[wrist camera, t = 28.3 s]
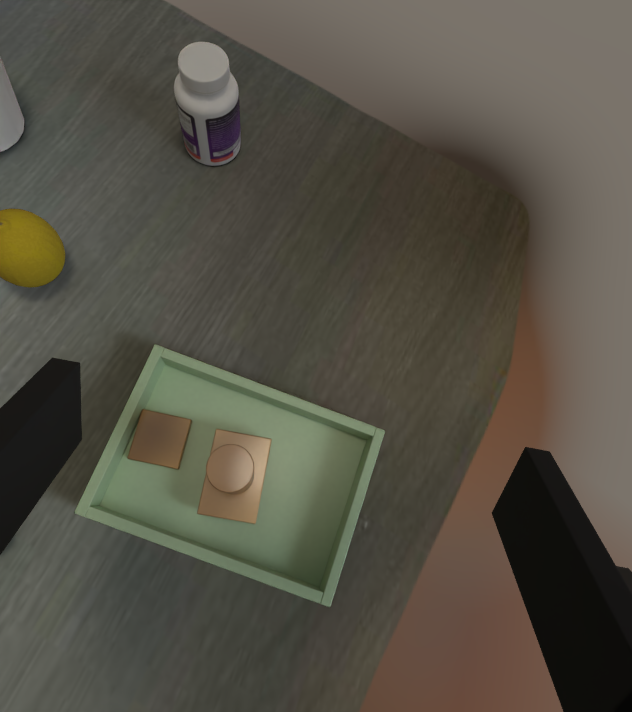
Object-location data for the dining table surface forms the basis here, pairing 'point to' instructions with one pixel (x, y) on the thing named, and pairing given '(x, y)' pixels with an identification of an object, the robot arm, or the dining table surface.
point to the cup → (9, 113)
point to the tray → (280, 488)
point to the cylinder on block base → (234, 476)
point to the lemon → (29, 249)
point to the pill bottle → (208, 104)
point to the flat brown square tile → (160, 439)
